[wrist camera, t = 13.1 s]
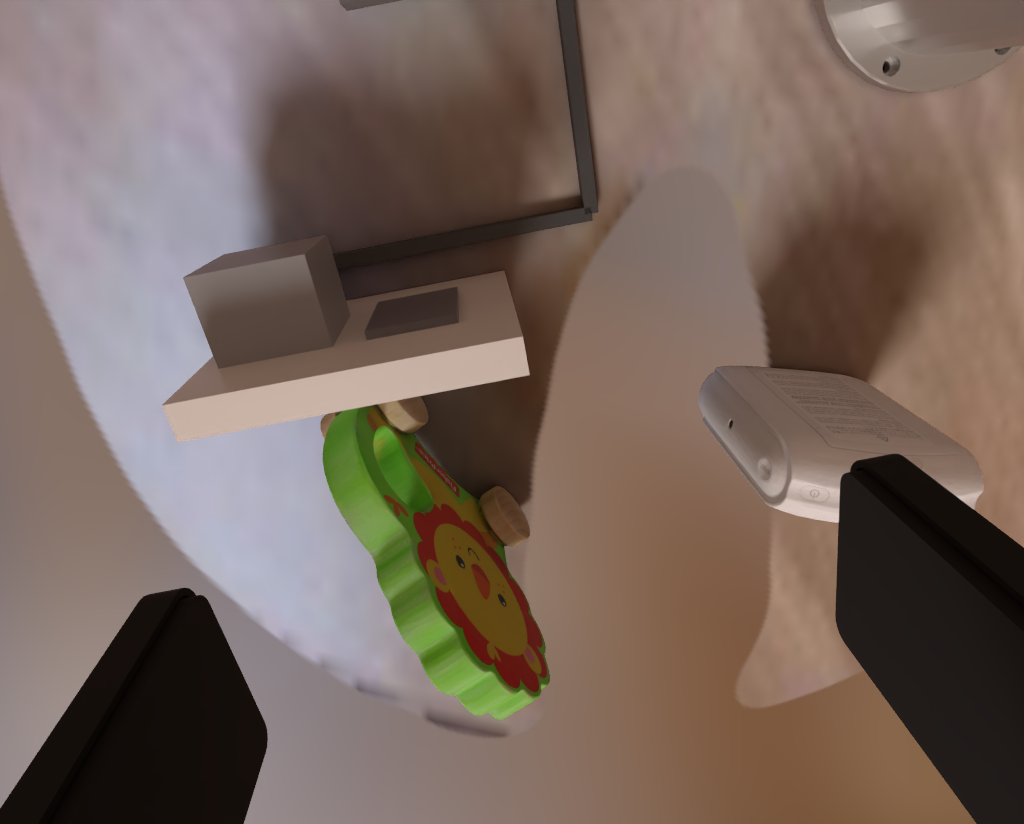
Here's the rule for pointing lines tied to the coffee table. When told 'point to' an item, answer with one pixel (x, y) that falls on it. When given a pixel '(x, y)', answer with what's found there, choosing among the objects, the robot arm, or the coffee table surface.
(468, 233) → the dark piece
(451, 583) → the toy lion
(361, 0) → the charging cradle
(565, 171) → the coffee table surface
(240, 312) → the plate
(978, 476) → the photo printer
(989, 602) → the robot arm
